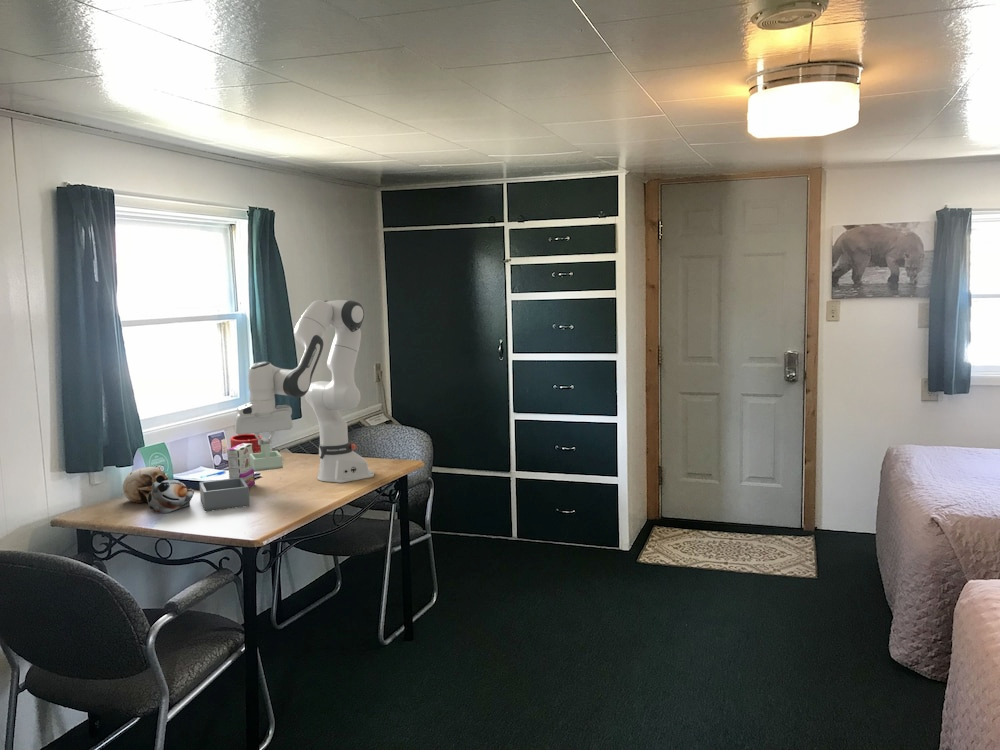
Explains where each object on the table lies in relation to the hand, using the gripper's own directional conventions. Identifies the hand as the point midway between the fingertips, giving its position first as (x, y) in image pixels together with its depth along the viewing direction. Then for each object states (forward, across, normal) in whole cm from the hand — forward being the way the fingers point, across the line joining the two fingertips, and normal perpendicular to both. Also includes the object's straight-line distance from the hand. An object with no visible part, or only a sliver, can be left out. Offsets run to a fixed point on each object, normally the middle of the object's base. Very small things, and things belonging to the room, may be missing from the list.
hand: (264, 444), depth 301 cm
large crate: (+20, +15, 0) cm, 25 cm away
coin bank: (+20, +38, -17) cm, 47 cm away
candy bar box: (+21, +6, -20) cm, 29 cm away
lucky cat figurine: (+20, +33, -1) cm, 39 cm away
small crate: (+9, 0, 0) cm, 9 cm away
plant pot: (+21, -2, -61) cm, 64 cm away
